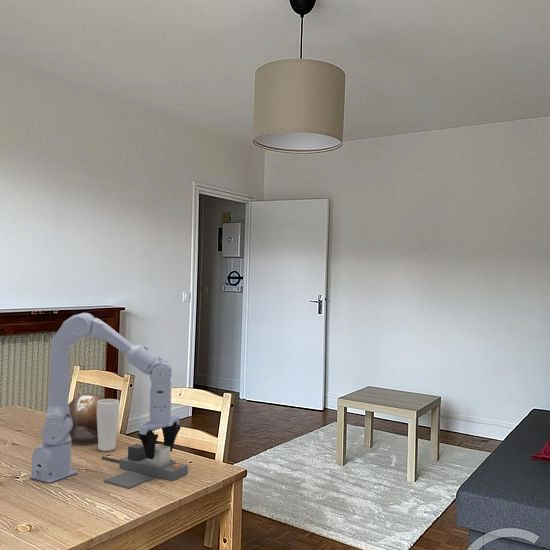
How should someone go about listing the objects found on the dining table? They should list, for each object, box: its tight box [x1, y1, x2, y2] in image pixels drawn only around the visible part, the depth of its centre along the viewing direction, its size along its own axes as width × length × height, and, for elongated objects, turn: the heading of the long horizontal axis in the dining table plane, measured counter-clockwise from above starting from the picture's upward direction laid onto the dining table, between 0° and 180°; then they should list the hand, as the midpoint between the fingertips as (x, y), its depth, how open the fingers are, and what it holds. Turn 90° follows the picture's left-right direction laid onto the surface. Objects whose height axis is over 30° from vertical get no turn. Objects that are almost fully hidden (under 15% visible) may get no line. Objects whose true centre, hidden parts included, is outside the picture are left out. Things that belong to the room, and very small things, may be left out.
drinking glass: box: [97, 398, 120, 452], centre depth 174 cm, size 7×7×15 cm
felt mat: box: [103, 470, 154, 490], centre depth 147 cm, size 9×9×1 cm
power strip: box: [101, 443, 189, 482], centre depth 157 cm, size 6×29×6 cm, turn 61°
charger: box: [148, 443, 171, 466], centre depth 154 cm, size 4×4×4 cm
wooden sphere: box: [68, 393, 105, 442], centre depth 183 cm, size 15×15×15 cm
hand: (159, 454), depth 154 cm, fingers open, 7 cm apart
